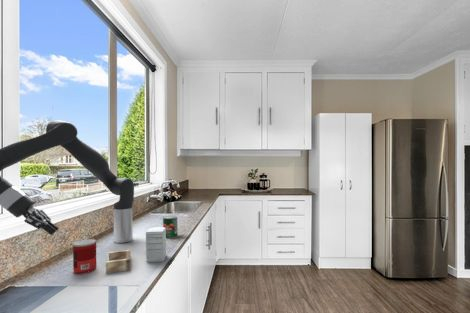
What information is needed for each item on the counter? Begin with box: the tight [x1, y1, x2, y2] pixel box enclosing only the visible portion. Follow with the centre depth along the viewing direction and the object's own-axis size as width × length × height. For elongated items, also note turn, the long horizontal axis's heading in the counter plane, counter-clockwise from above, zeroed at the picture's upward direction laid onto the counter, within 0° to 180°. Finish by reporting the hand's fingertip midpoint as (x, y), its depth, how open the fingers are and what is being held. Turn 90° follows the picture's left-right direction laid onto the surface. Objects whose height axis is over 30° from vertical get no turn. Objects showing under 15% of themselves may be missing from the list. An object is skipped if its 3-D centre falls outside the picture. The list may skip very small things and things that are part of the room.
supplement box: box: [145, 226, 167, 263], centre depth 119 cm, size 7×7×13 cm
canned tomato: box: [162, 215, 179, 240], centre depth 154 cm, size 8×8×11 cm
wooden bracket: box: [105, 249, 132, 274], centre depth 112 cm, size 8×13×4 cm, turn 20°
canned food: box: [72, 238, 97, 275], centre depth 108 cm, size 8×8×11 cm
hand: (55, 231), depth 105 cm, fingers open, 2 cm apart
